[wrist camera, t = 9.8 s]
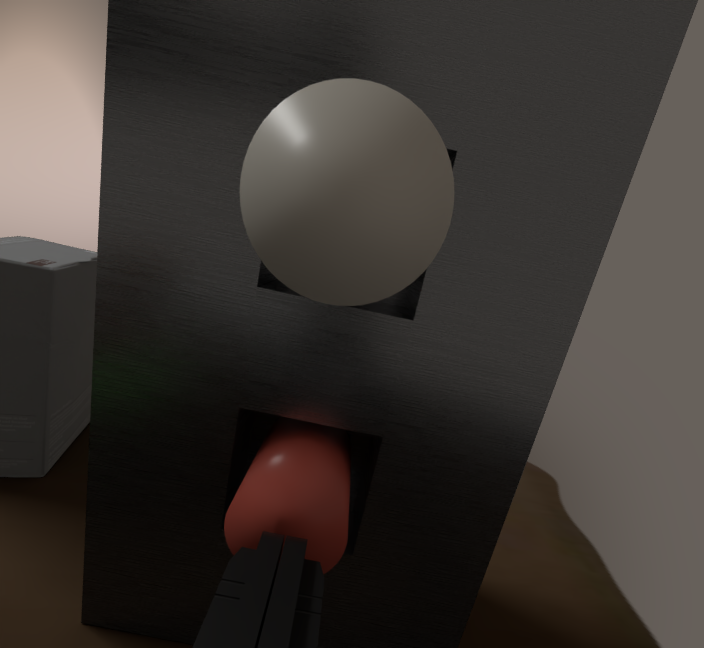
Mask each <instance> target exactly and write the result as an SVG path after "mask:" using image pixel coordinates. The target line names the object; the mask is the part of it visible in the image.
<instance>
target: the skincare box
mask: <svg viewBox="0 0 704 648" xmlns="http://www.w3.org/2000/svg"><path fill="white" fill-rule="evenodd" d="M97 253H98V252H93V251H88V250H84V249H79V248H74V247H70V246H66V245H61V244H57V243H53V242H49V241H44V240H40V239H35V238H30V237H20V236H17V237H5V238H0V477H43V476H45V474H46V473H47V472H48V471H49V470H50V469H51V467H52V466H53V465H54V464H55V463H56V461H57V460H58V459H59V458H60V457H61V455H62V454H63V453H64V452H65V451H66V449H67V448H68V447H69V446H70V445H71V443H72V442H73V441H74V440H75V439H76V438H77V436H78V435H79V434H80V433H81V432H82V431H83V429H84V428H85V427H86V426H87V425H88V423H89V422H90V413H91V390H92V367H93V344H94V321H95V299H96V276H97Z"/></svg>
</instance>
